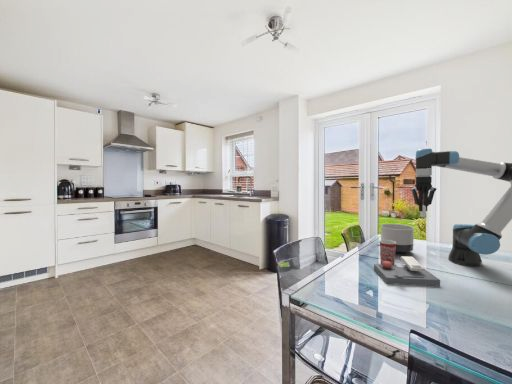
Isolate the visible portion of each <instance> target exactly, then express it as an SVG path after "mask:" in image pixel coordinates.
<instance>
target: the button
mask: <svg viewBox="0 0 512 384" xmlns="http://www.w3.org/2000/svg"><path fill="white" fill-rule="evenodd" d="M381 264H382V266H383V267H384V268H392V263H391V262H389V261H383V262H382V263H381Z"/></svg>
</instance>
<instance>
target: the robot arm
mask: <svg viewBox="0 0 512 384" xmlns="http://www.w3.org/2000/svg"><path fill="white" fill-rule="evenodd" d="M433 167H438V168H443V169H451V170H454V171H455V170H456V171H461V172H467V173H471V174H473V173H474V174H478V175H483V176H488V177H492V178H494V179H495V180H501V181H505V182H509V184H510V187H509V188H508V189H507V191H505V193H504V194H503V195H502V196H501V198H500V199H499V200H498V201H497V203H496V204H495V205H494V206H493V208H492V209H491V210H490V211H489V212H488V213H487V215H486V216H485V217H484V219H483V220H482V221H481V222H478V223H475V224H463V223H462V224H461V223H456V224H454V225H453V226H452V227H453V228H452V248H451V250H450V252H449V254H448V256H447V257H448V259H447V260H448V261H450V262H451V263H453V264H457V265H462V266H466V267H481V266H482V265H483V261H482V258H481V255H485V256H486V255H491V254H494V253H495V254H496V252H498V251H499V249H500V247H501V242H500V240H501V239H502V238H503V234H502V231H503V230H504V229H505V228H506V227H507V225H508V224H509V223H510V222H511V221H512V162H503V161H501V162H500V161H499V163H496V162H491V161H486V160H479V159H473V158H466V157H462V156H460V153H459V152H458V151H456V150H447V151H433V149H432V148H422V149H421V148H420V149H417V150H416V152H415V184H414V187H411V188H410V191H411V193H412V197H413V200H414V204H415V205H417V206H418V211H419V217H421V218H426V217H427V215H426V214H427V213H426V212H428V206H429V205H432V202H433V200H434V196H435V193H436V191H437V188H436V187H433V185H432V181H433V179H432V176H433V175H432V173H433V171H432V169H433Z"/></svg>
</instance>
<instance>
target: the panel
mask: <svg viewBox="0 0 512 384" xmlns="http://www.w3.org/2000/svg"><path fill="white" fill-rule="evenodd" d="M396 265H397V264H394V265H392V268H384V267H383V266H382V263H374V264H373V270H374V271H375V272H376V273H377V274H378V276H380V278H381V279H382V281H384V282H385V284H389V285H390V284H391V285H392V284H393V285H410V286H411V285H414V286H431V287H432V286H433V287H441V279H440V278H438V277H436V275H434V274H433V273H431V272H430V271H428V270H427V269H425V268H424V271H411V270H410V269H409V268H408V267H407V266H406V264H401V265H402V266H403V267H404V273H403V277H398V276H397V275H396Z"/></svg>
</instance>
